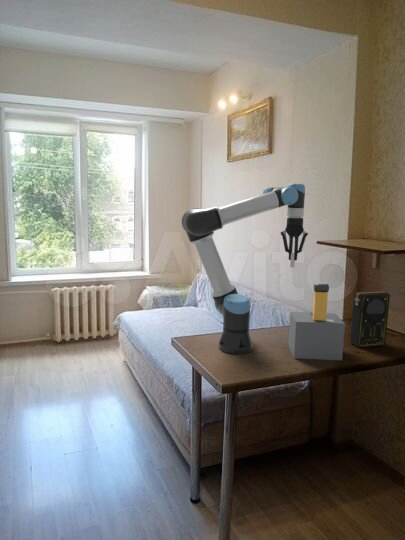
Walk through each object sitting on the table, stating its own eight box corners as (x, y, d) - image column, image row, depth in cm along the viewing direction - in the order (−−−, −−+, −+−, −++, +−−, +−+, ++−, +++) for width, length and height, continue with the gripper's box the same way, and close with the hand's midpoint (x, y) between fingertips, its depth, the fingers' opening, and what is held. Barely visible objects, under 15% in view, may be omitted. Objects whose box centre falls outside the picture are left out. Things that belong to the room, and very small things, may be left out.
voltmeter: (358, 348, 191) (362, 295, 187) (347, 342, 200) (351, 290, 196) (387, 346, 196) (392, 293, 191) (375, 340, 204) (379, 289, 200)
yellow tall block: (313, 320, 177) (315, 284, 174) (311, 318, 180) (313, 283, 177) (326, 320, 176) (329, 285, 174) (324, 318, 179) (327, 283, 177)
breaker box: (293, 358, 178) (296, 321, 176) (288, 345, 194) (290, 311, 191) (342, 360, 177) (345, 323, 175) (332, 347, 193) (335, 312, 190)
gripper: (310, 217, 199) (307, 267, 203) (283, 216, 204) (280, 264, 208) (308, 218, 192) (304, 269, 196) (279, 217, 197) (277, 266, 201)
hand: (292, 266), depth 202 cm, fingers closed
